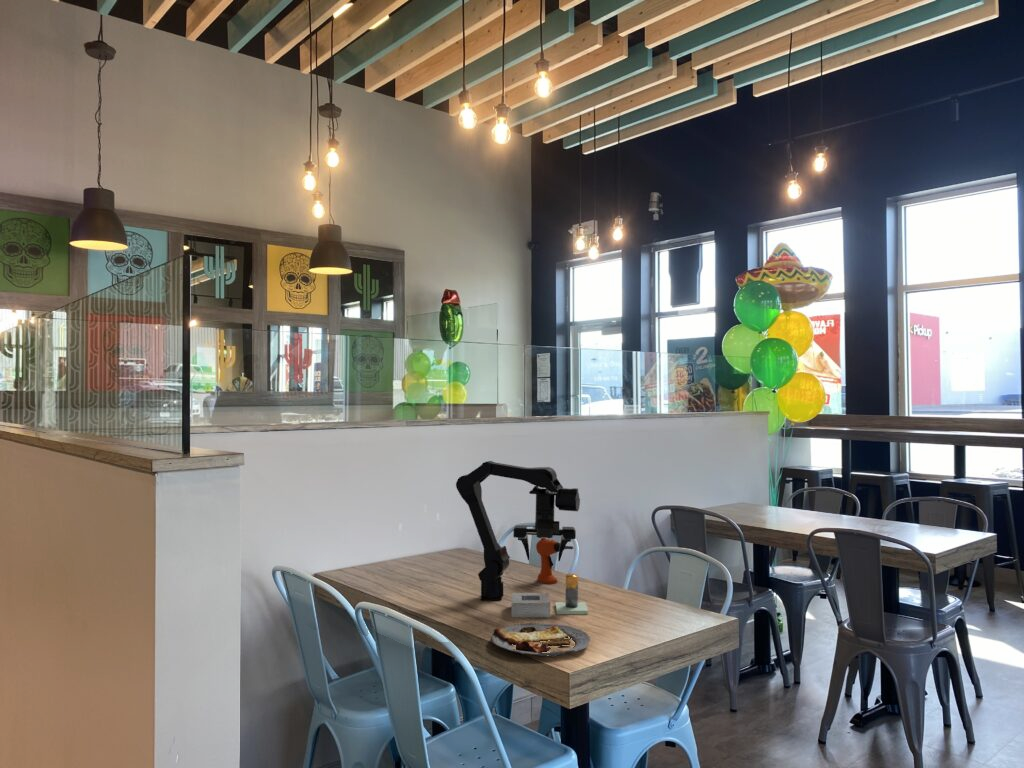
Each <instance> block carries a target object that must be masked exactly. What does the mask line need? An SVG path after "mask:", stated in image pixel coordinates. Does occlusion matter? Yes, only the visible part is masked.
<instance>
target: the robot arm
mask: <svg viewBox="0 0 1024 768" xmlns="http://www.w3.org/2000/svg"><path fill="white" fill-rule="evenodd" d="M490 476H495V477H496V476H498V477H503V478H507V479H514V480H520V481H524V482H527V483H529V484H531V485H533V488H532V489H531V490H530V491H529V492H528V493H529V494H530V495H535V513H534V514H535V519H534V520H535V522H534V528H528V526H527V525H524V524H523V525H521V524H516V525H514V527H513V538H514V539H515V538H517V540H518V541H521V543H522V545H523V548H524V550H525V554H526V557H527V561H530V547H529V537H528V535H529V536H536V538H538V539H541V538H546V539H553V537H554V536H556V537H557V536H559V537H560V542H559V543H560V547H559V552H558V558H557V559H558V560H557V562H560V561H561V558H562V555H563V553H564V551H565V549H564V548H565V546H567V544H568V543H570V542H572V540H576V531H577V530H576V528H575V527H574V526H562V527H561V528H562V529H560V521H559V520H555V507H556V508H557V509H558V510H559V511H566V512H579V510H580V505H581V498H580V494H579V488H577V487H575V488H574V487H573V488H565V487H563V485H562V483H561V482H560V480H559V479H558V478H557V477H558V476H557V472H556V471H555V469H554V468H553V467H551V466H546V467H545V466H544V467H543V466H542V467H541V466H537V467H526V466H525V467H524V466H519V465H513V464H506V463H502V462H495V461H493V460H488V461H484V462H482V463H481V464H480V466H478V467H477V468H475V469H474V470H472V471H471V472H469V473H468V474H464V475H461V476H459V478H458V479H457V480H456V482H455V489H456V490H457V491H458V493H459V495H460V497H461V499H462V500H463V501H464V502H465V504H467V506H468V508H469V511H470V514H471V516H472V519H473V522H474V525H475V528H476V531H477V533H478V536H479V539H480V541H481V544H482V547H483V561H484V567H483V568H482V569H481V570H480V571H479V572H478V573H477V574H478V578H479V581H480V600H481V601H502V600H503V599H502V598H503V597H504V581H502V576H503V575H504V572H505V571H507V569H508V567H509V566H510V559H511V557H510V555H509V553H508V551H507V549H508V548H507V547H506V545H504V546H501V545H500V544H499V543H498V540H497V539H496V535H495V533H494V530H493V527H492V524H491V521H490V518H489V516H488V514H487V511H486V507H485V504H484V502H483V500H482V498H483V496H482V495H483V493H482V492H483V491H482V486H481V485H482V483H483V482H485V480H486V479H487V478H488V477H490Z"/></svg>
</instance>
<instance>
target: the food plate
mask: <svg viewBox="0 0 1024 768" xmlns="http://www.w3.org/2000/svg"><path fill="white" fill-rule="evenodd" d="M568 636H569V637H570V639H571V638H572V640H573V641H574V642H575V646H574V645H573V646H574V647H573V646H572V647H573V648H568V649H566V650H563V651H555V652H553V651H552V652H550V653H542V652H547V651H549V650H550V649H551V648H550V647H548V646H562V645H570V643H571V644H572V642H571V641H570V639H564V638H568ZM490 640H491V642H492V643H493V645H494V646H496V647H497V648H501V649H504V650H507V651H508V652H510V653H512V652H513V653H517V654H519V653H520V655H525V654H528V656H534V655H536V656H539V655H540V657H547V655H551V656H554V657H556V656H558V655H564V654H566V653H571V652H579V651H582V650H583V649H586V648H587V647H588V646H589V643H590V642H591V637H590V635H589V634H588V633H586V632H585V631H583V630H582V629H580V628H576V627H573V626H570V625H566V624H561V623H560V624H559V623H544V622H540V623H539V622H536V623H534V622H529V623H528V622H527V623H521V624H516V625H510V626H509V625H508V626H506V627H502V628H500V627H497V628H494V630H493V633H492V635H491V637H490ZM548 640H550V641H548ZM540 641H546V642H542V645H539V644H536V643H534V642H540ZM512 644H513V645H516V650H515V649H512V648H511V647H514V646H513V645H512ZM570 646H571V645H570ZM555 655H556V656H555ZM551 656H550V657H551Z"/></svg>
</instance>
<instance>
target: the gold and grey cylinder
mask: <svg viewBox="0 0 1024 768" xmlns="http://www.w3.org/2000/svg"><path fill="white" fill-rule="evenodd" d="M578 596H579V574H576V573H567V574H565V599H564V600H565V601H564V602H565V606H566V607H568V608H576V607H578V602H579V597H578Z"/></svg>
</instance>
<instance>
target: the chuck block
mask: <svg viewBox="0 0 1024 768" xmlns="http://www.w3.org/2000/svg"><path fill="white" fill-rule="evenodd" d="M511 618H551V597H550V593H549V592H511Z"/></svg>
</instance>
